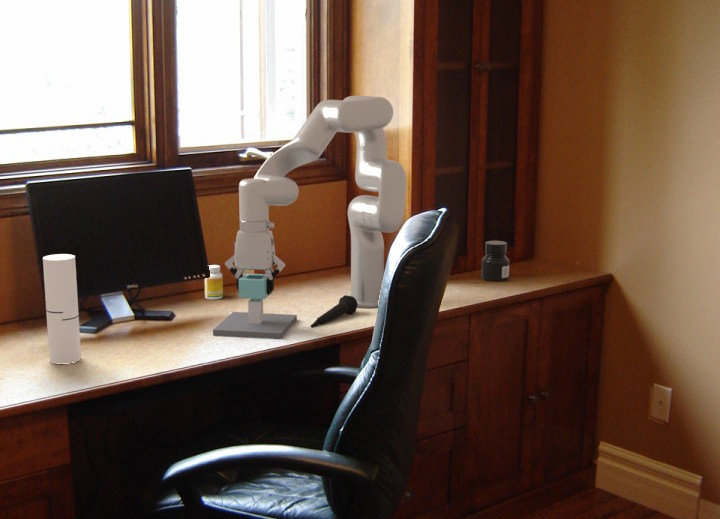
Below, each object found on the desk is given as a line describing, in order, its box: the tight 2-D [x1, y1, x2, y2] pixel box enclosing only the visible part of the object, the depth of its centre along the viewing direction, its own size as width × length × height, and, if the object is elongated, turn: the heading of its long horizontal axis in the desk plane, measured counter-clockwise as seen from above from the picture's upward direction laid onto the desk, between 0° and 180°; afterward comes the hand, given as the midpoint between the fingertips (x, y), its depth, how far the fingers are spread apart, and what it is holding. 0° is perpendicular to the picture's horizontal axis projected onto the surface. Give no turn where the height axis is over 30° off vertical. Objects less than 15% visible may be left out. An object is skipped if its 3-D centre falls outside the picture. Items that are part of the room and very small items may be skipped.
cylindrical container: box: [42, 253, 82, 364], centre depth 226 cm, size 7×7×25 cm
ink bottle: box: [480, 240, 510, 282], centre depth 312 cm, size 10×9×12 cm
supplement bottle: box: [203, 264, 224, 300], centre depth 287 cm, size 5×5×10 cm
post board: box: [212, 298, 298, 340], centre depth 256 cm, size 18×18×8 cm
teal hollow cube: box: [238, 273, 270, 300], centre depth 254 cm, size 7×7×5 cm
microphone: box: [310, 294, 358, 328], centre depth 265 cm, size 6×6×20 cm
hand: (255, 292), depth 255 cm, fingers closed on teal hollow cube, 7 cm apart
